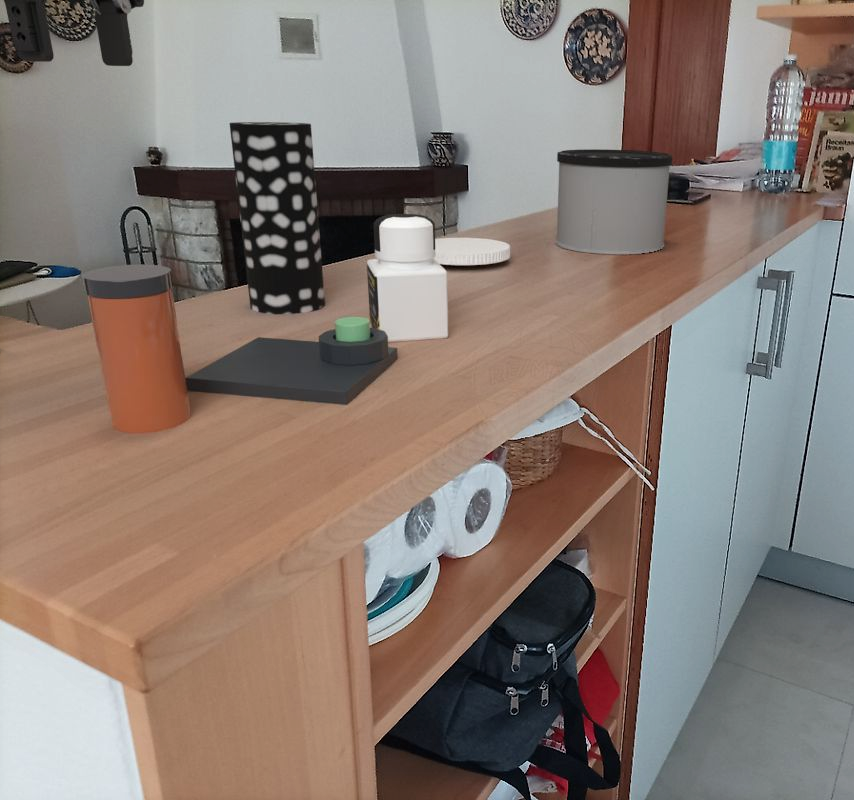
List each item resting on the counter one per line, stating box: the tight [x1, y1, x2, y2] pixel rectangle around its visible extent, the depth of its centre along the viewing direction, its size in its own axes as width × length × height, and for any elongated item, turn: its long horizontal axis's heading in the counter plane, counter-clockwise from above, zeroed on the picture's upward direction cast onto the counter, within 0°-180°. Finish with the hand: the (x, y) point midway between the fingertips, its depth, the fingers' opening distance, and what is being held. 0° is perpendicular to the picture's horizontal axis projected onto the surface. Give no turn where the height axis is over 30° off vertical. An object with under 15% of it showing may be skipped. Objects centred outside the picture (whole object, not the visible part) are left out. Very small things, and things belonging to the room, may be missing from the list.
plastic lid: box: [434, 237, 511, 266], centre depth 116 cm, size 14×14×2 cm
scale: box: [185, 327, 399, 406], centre depth 68 cm, size 14×12×3 cm
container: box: [555, 148, 674, 256], centre depth 131 cm, size 19×19×15 cm
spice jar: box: [81, 264, 192, 434], centre depth 57 cm, size 6×6×11 cm
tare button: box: [334, 316, 371, 342], centre depth 70 cm, size 3×3×2 cm
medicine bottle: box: [366, 213, 449, 343], centre depth 80 cm, size 7×7×12 cm
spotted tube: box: [229, 121, 326, 315], centre depth 87 cm, size 8×8×20 cm
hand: (80, 63), depth 59 cm, fingers open, 8 cm apart
